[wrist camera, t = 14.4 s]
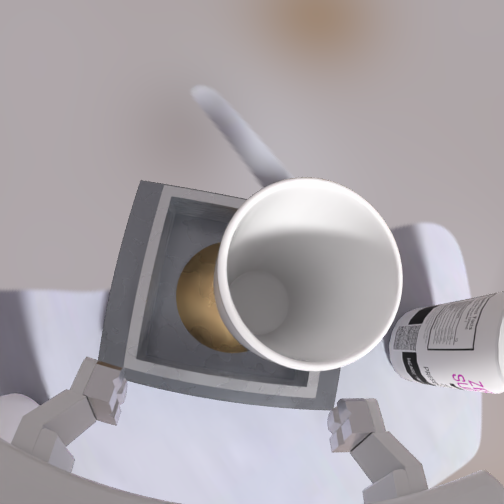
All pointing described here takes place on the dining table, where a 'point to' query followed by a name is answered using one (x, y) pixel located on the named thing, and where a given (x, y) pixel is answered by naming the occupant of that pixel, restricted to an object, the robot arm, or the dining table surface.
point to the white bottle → (13, 413)
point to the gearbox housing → (190, 309)
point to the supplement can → (452, 344)
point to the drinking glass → (307, 275)
